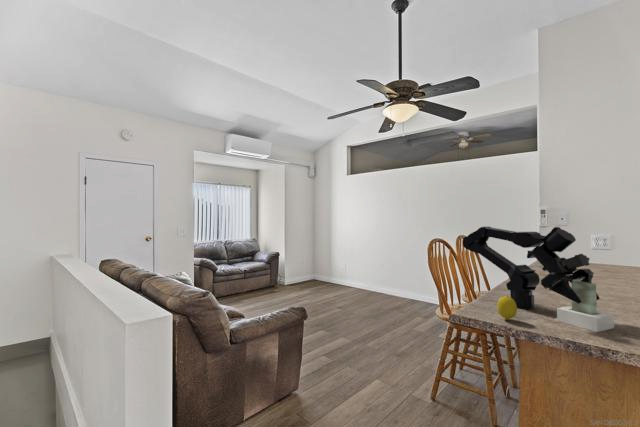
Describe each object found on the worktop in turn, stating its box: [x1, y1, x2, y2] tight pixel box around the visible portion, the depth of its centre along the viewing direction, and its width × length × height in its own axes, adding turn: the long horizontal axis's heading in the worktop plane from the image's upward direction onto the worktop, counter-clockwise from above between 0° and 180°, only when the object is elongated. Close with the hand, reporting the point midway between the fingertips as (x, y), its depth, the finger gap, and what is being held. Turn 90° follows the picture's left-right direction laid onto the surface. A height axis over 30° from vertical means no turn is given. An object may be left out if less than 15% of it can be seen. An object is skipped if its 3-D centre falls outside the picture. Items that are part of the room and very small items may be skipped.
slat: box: [571, 281, 598, 315], centre depth 94 cm, size 5×3×13 cm, turn 21°
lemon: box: [496, 295, 518, 321], centre depth 98 cm, size 6×6×8 cm
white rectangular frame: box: [556, 305, 615, 333], centre depth 94 cm, size 11×9×4 cm
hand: (589, 301), depth 93 cm, fingers open, 9 cm apart
